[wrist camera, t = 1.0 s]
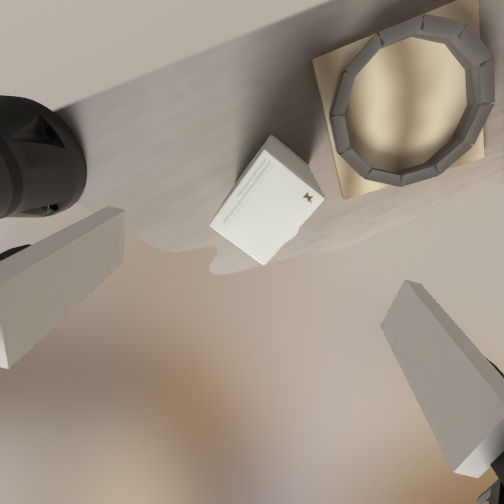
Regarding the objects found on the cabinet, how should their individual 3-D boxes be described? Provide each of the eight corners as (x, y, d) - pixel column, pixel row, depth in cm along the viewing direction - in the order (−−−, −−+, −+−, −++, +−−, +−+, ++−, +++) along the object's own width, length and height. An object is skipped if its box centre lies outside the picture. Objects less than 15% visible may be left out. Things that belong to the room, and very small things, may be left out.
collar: (342, 197, 38) (348, 204, 34) (311, 61, 32) (315, 54, 29) (477, 156, 34) (499, 160, 31) (470, -4, 29) (496, -21, 25)
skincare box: (271, 133, 35) (265, 140, 21) (312, 167, 37) (332, 196, 22) (232, 187, 39) (203, 224, 24) (270, 217, 40) (265, 269, 26)
